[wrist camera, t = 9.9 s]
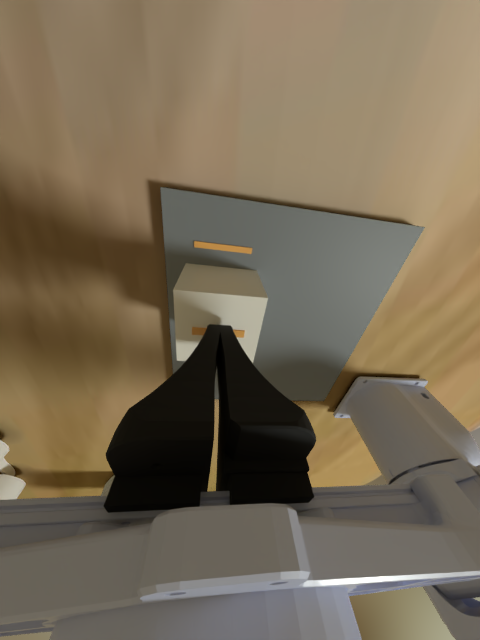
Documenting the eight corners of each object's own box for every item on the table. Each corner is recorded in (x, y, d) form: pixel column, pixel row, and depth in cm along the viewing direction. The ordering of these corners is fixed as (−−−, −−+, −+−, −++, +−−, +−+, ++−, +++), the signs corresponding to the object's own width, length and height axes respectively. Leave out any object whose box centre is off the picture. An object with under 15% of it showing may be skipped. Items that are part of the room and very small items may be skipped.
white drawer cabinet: (256, 270, 15) (268, 298, 11) (246, 326, 18) (252, 364, 14) (185, 263, 14) (172, 290, 11) (186, 323, 17) (176, 361, 13)
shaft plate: (413, 225, 15) (470, 236, 12) (320, 394, 26) (336, 426, 22) (164, 187, 13) (142, 187, 9) (176, 390, 23) (168, 426, 20)
